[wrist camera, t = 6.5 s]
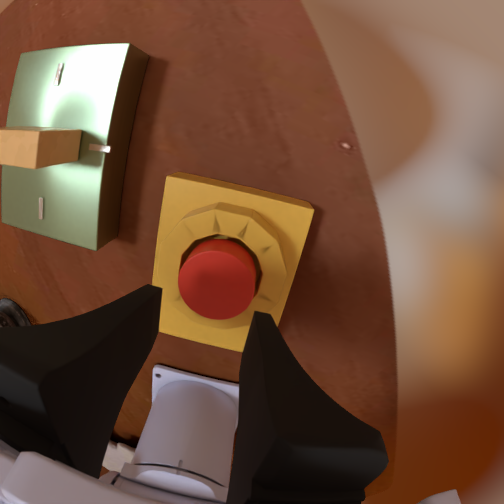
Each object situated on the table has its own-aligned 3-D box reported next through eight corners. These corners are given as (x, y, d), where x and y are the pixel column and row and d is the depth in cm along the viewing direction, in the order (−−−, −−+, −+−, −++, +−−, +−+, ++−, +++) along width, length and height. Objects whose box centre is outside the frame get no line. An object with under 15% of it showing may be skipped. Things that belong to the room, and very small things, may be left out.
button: (247, 309, 16) (245, 327, 14) (182, 293, 16) (173, 310, 14) (263, 247, 15) (263, 261, 13) (192, 231, 15) (183, 242, 13)
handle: (82, 129, 14) (36, 131, 10) (78, 161, 14) (32, 170, 10) (20, 125, 13) (-25, 129, 10) (17, 153, 14) (-28, 162, 10)
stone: (70, 424, 24) (200, 471, 24) (82, 406, 27) (205, 449, 28) (82, 469, 27) (189, 507, 27) (91, 454, 30) (194, 489, 30)
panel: (122, 237, 19) (100, 254, 16) (23, 211, 19) (-3, 222, 16) (155, 55, 15) (134, 41, 12) (43, 59, 14) (16, 53, 11)
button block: (267, 338, 21) (266, 376, 17) (158, 311, 21) (139, 344, 17) (309, 201, 18) (320, 218, 14) (178, 171, 17) (154, 179, 14)
